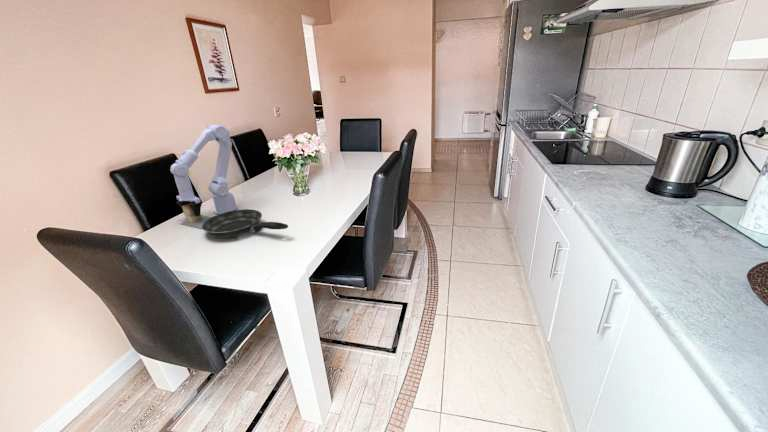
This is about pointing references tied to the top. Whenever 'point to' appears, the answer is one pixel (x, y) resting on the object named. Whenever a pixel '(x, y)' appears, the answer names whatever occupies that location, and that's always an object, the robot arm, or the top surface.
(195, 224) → the grey rubber mat
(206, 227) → the frying pan
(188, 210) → the oak block
